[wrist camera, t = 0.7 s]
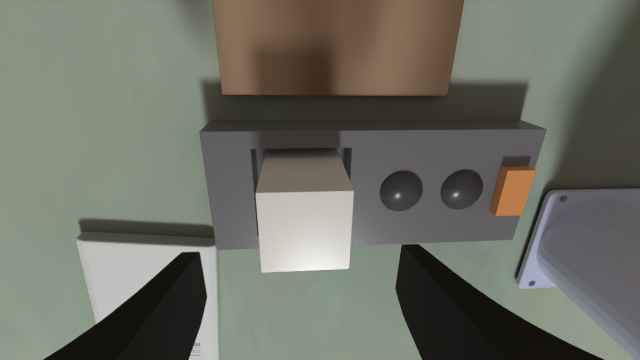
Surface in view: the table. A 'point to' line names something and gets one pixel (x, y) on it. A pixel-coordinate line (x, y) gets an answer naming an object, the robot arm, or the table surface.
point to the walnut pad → (336, 46)
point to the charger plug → (304, 210)
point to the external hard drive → (148, 275)
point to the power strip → (385, 176)
